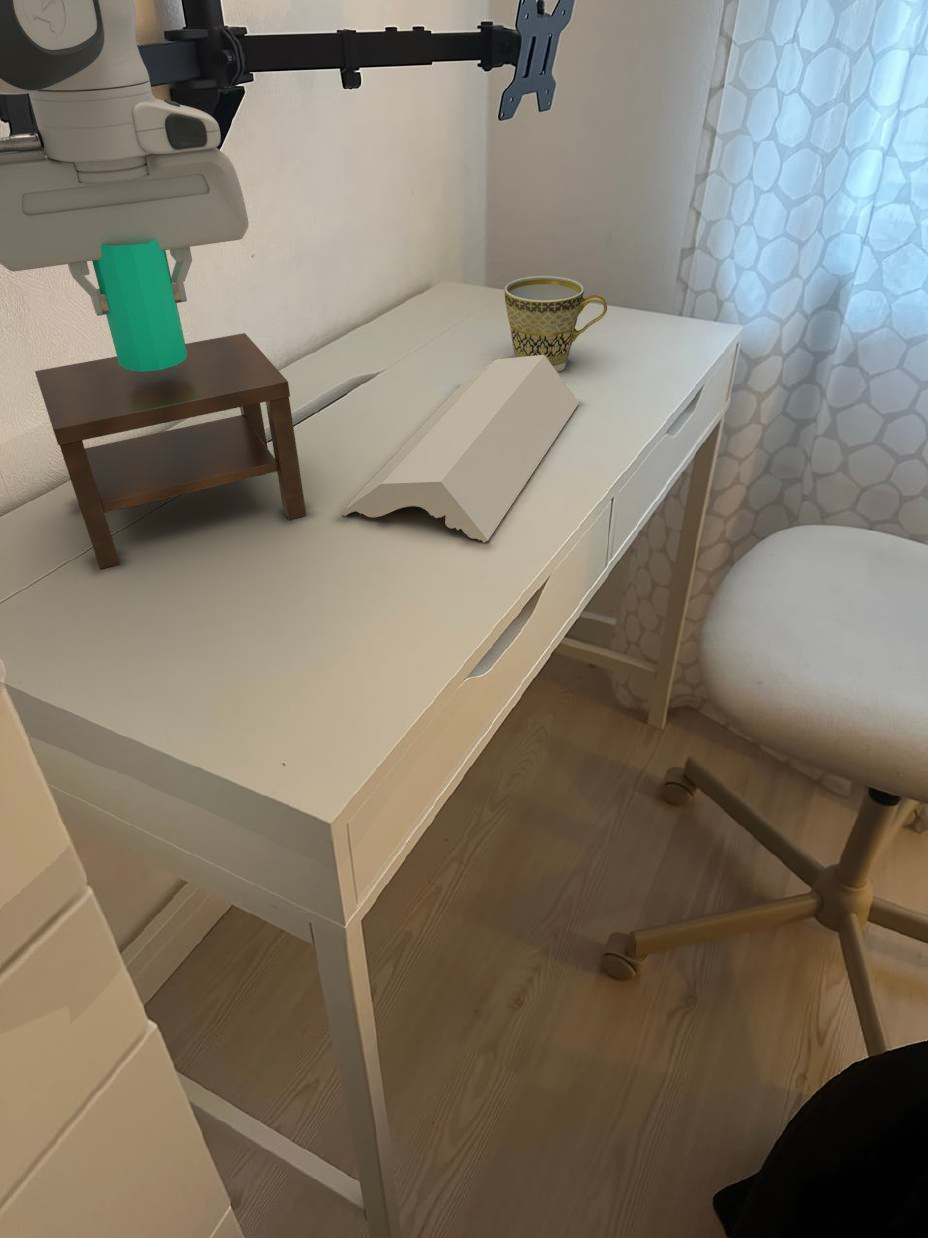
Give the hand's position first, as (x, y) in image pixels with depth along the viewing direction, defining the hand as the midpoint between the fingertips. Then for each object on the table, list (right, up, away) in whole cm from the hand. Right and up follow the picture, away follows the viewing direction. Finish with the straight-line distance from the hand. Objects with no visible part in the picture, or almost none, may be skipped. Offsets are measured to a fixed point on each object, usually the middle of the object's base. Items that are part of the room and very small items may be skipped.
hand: (141, 306), depth 77 cm
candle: (0, -4, +3) cm, 5 cm away
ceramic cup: (+40, +6, +40) cm, 57 cm away
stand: (0, -16, +12) cm, 20 cm away
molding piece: (+29, -9, +21) cm, 37 cm away
